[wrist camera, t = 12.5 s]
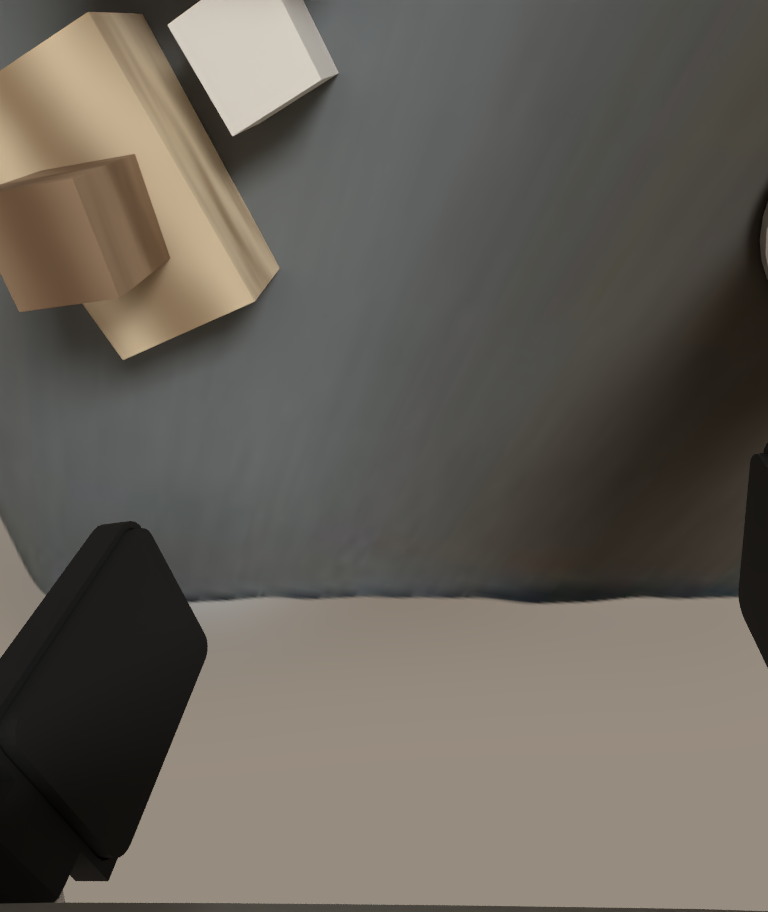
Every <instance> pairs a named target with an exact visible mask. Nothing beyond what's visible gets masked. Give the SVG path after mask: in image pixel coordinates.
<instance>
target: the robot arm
mask: <svg viewBox="0 0 768 912" xmlns="http://www.w3.org/2000/svg"><path fill="white" fill-rule="evenodd" d="M760 250H761V261H762V264H763V267H764V270H765V274H766V277H767V279H768V202H767V206H766V209H765V212H764V215H763V219H762V226H761V234H760ZM739 603H740V608H741V611H742V614H743V617H744V619H745V621H746V623H747V625H748V628H749V630H750V632H751V634H752V636H753V638H754V640H755V642H756V644H757V646H758V648H759V650H760V653H761V655H762V657H763V659H764V661H765V663H766V665H767V667H768V443H767V444H766V446H765V448H764V453H760V454H754V455H753V456H752V458H751V462H750V471H749V482H748V493H747V504H746V515H745V526H744V537H743V548H742V559H741V570H740V581H739ZM206 655H207V639H206V636H205V634H204V632H203V630H202V628H201V626H200V624H199V622H198V621H197V619H196V617H195V615H194V613H193V611H192V609H191V607H190V606H189V604H188V602H187V600H186V598H185V596H184V594H183V593H182V591H181V589H180V587H179V585H178V583H177V581H176V579H175V578H174V576H173V574H172V572H171V570H170V568H169V566H168V564H167V563H166V561H165V559H164V557H163V555H162V553H161V551H160V549H159V548H158V546H157V544H156V542H155V540H154V538H153V536H152V535H151V533H150V532H149V531H148V530H147V529H143V528H141V526H140V525H139V524H137V523H136V522H132V521H128V522H120V523H112V524H104V525H100V526H98V527H97V528H96V529H95V530H94V531H93V532H92V533H91V535H90V536H89V537H88V539H87V540H86V542H85V543H84V544H83V546H82V547H81V548H80V550H79V551H78V553H77V554H76V555H75V557H74V558H73V559H72V561H71V562H70V564H69V565H68V566H67V568H66V569H65V570H64V572H63V573H62V574H61V576H60V577H59V579H58V580H57V581H56V583H55V584H54V585H53V587H52V588H51V590H50V591H49V592H48V594H47V595H46V596H45V598H44V599H43V601H42V602H41V603H40V605H39V606H38V607H37V609H36V610H35V611H34V613H33V614H32V616H31V617H30V618H29V620H28V621H27V623H26V624H25V625H24V627H23V628H22V629H21V631H20V632H19V633H18V635H17V636H16V638H15V639H14V640H13V642H12V643H11V644H10V646H9V647H8V649H7V650H6V651H5V653H4V654H3V655H2V657H1V658H0V912H768V911H739V910H737V911H736V910H708V909H707V910H705V909H654V908H653V909H652V908H650V909H649V908H586V907H520V906H519V907H518V906H448V905H446V906H445V905H442V906H441V905H351V904H350V905H348V904H343V905H342V904H240V903H238V904H237V903H235V904H234V903H233V904H232V903H65V899H64V894H63V888H64V886H65V884H66V882H67V879H68V877H69V875H71V877H72V878H73V879H74V880H75V881H108V880H109V878H110V875H111V873H112V871H113V868H114V866H115V863H116V861H117V859H118V857H120V856H122V855H124V853H125V852H126V851H127V850H128V848H129V846H130V844H131V842H132V839H133V836H134V834H135V832H136V829H137V826H138V824H139V822H140V819H141V817H142V814H143V812H144V809H145V807H146V804H147V802H148V800H149V797H150V794H151V792H152V789H153V787H154V785H155V782H156V780H157V777H158V775H159V772H160V769H161V767H162V765H163V762H164V760H165V757H166V755H167V753H168V750H169V748H170V745H171V743H172V740H173V737H174V735H175V732H176V730H177V728H178V725H179V723H180V720H181V718H182V715H183V713H184V710H185V708H186V706H187V703H188V700H189V698H190V696H191V693H192V691H193V688H194V686H195V683H196V681H197V678H198V676H199V673H200V671H201V668H202V666H203V664H204V661H205V659H206Z"/></svg>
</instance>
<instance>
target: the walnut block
mask: <svg viewBox="0 0 768 912" xmlns="http://www.w3.org/2000/svg"><path fill="white" fill-rule="evenodd" d="M169 259H170V256H169V253H168V250H167V247H166V244H165V241H164V238H163V235H162V232H161V229H160V226H159V223H158V220H157V217H156V214H155V211H154V209H153V206H152V203H151V200H150V197H149V194H148V191H147V188H146V185H145V182H144V179H143V176H142V173H141V170H140V167H139V164H138V161H137V159H136V156H135V154H131V155H126V156H120V157H114V158H109V159H103V160H97V161H92V162H86V163H80V164H75V165H69V166H63V167H58V168H52V169H46V170H41V171H38V172H35V173H32V174H29V175H27V176H24V177H21V178H18V179H15V180H12V181H9V182H6V183H3V184H0V273H1V275H2V277H3V280H4V282H5V284H6V286H7V288H8V290H9V292H10V294H11V296H12V298H13V300H14V302H15V304H16V306H17V308H18V310H19V312H24V311H31V310H38V309H46V308H53V307H60V306H68V305H75V304H82V303H90V302H97V301H104V300H112V299H119V298H121V297H122V296H123V295H125V294H126V293H127V292H128V291H130V290H131V289H132V288H133V287H135V286H136V285H137V284H138V283H140V282H141V281H142V280H143V279H145V278H146V277H147V276H148V275H150V274H151V273H152V272H153V271H155V270H156V269H157V268H159V267H160V266H161V265H162V264H164V263H165V262H166V261H167V260H169Z"/></svg>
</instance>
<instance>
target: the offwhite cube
mask: <svg viewBox="0 0 768 912" xmlns="http://www.w3.org/2000/svg"><path fill="white" fill-rule="evenodd" d="M168 27H169V29H170V31H171V32H172V34H173V36H174V37H175V39H176V41H177V42H178V44H179V46H180V48H181V49H182V51H183V53H184V54H185V56H186V58H187V60H188V61H189V63H190V65H191V66H192V68H193V70H194V72H195V73H196V75H197V77H198V78H199V80H200V82H201V84H202V85H203V87H204V89H205V90H206V92H207V94H208V95H209V97H210V99H211V101H212V102H213V104H214V106H215V107H216V109H217V111H218V113H219V114H220V116H221V118H222V119H223V121H224V123H225V125H226V126H227V128H228V130H229V131H230V133H231V135H232V136H235V135H237V134H239V133H241V132H243V131H245V130H247V129H249V128H251V127H253V126H255V125H257V124H260V123H261V122H263V121H264V120H266V119H267V118H269V117H271V116H272V115H274V114H275V113H277V112H278V111H280V110H282V109H283V108H285V107H286V106H288V105H289V104H291V103H293V102H294V101H296V100H297V99H299V98H300V97H302V96H304V95H305V94H307V93H308V92H310V91H311V90H313V89H315V88H316V87H318V86H319V85H321V84H323V83H324V82H326V81H327V80H329V79H330V78H332V77H334V76H335V75H337V74H338V71H337V69H336V67H335V65H334V62H333V60H332V58H331V56H330V54H329V52H328V50H327V48H326V46H325V44H324V42H323V40H322V38H321V36H320V34H319V32H318V30H317V28H316V26H315V24H314V22H313V19H312V17H311V15H310V13H309V11H308V9H307V7H306V5H305V3H304V1H303V0H200V1H199V2H198V3H196V4H195V5H193V6H192V7H191V8H189V9H188V10H187V11H185V12H184V13H183V14H181V15H180V16H179V17H177V18H176V19H175V20H173V21H172V22H171V23H169V24H168Z"/></svg>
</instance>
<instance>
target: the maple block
mask: <svg viewBox="0 0 768 912" xmlns="http://www.w3.org/2000/svg"><path fill="white" fill-rule="evenodd" d="M131 154H135V156H136V159H137V161H138V164H139V167H140V170H141V173H142V176H143V179H144V182H145V185H146V188H147V191H148V194H149V197H150V200H151V203H152V206H153V209H154V211H155V214H156V217H157V220H158V223H159V226H160V229H161V232H162V235H163V238H164V241H165V244H166V247H167V250H168V253H169V256H170V259H169V260H167V261H166V262H165V263H164V264H162V265H161V266H160V267H159V268H157V269H156V270H155V271H153V272H152V273H151V274H150V275H148V276H147V277H146V278H145V279H143V280H142V281H141V282H140V283H138V284H137V285H136V286H135V287H133V288H132V289H131V290H130V291H128V292H127V293H126V294H125V295H123V296H122V297H121V298H119V299H112V300H104V301H97V302H90V303H82V304H83V305H84V307H85V308H86V309H87V311H88V312H89V314H90V315H91V316H92V318H93V319H94V321H95V322H96V323H97V325H98V326H99V328H100V329H101V330H102V332H103V333H104V334H105V336H106V337H107V339H108V340H109V341H110V343H111V344H112V346H113V347H114V348H115V350H116V351H117V353H118V354H119V355H120V357H121V358H122V360H125V359H127V358H129V357H131V356H134V355H136V354H138V353H140V352H142V351H145V350H147V349H149V348H151V347H154V346H156V345H158V344H160V343H163V342H165V341H167V340H169V339H172V338H174V337H176V336H178V335H181V334H183V333H185V332H187V331H190V330H192V329H194V328H196V327H199V326H201V325H203V324H205V323H208V322H210V321H212V320H214V319H217V318H219V317H221V316H223V315H226V314H228V313H230V312H232V311H235V310H237V309H239V308H241V307H244V306H246V305H248V304H250V303H253V302H255V301H256V299H257V298H258V297H259V295H260V294H261V293H262V291H263V290H264V289H265V287H266V286H267V285H268V283H269V282H270V281H271V279H272V278H273V277H274V275H275V274H276V273H277V271H278V270H279V269H280V268H279V266H278V264H277V262H276V260H275V259H274V257H273V255H272V253H271V251H270V249H269V247H268V246H267V244H266V242H265V240H264V238H263V236H262V234H261V233H260V231H259V229H258V227H257V225H256V223H255V221H254V220H253V218H252V216H251V214H250V212H249V210H248V209H247V207H246V205H245V203H244V201H243V199H242V197H241V196H240V194H239V192H238V190H237V188H236V186H235V184H234V183H233V181H232V179H231V177H230V175H229V173H228V172H227V170H226V168H225V166H224V164H223V162H222V160H221V159H220V157H219V155H218V153H217V151H216V149H215V147H214V146H213V144H212V142H211V140H210V138H209V136H208V135H207V133H206V131H205V129H204V127H203V125H202V123H201V122H200V120H199V118H198V116H197V114H196V112H195V110H194V109H193V107H192V105H191V103H190V101H189V99H188V98H187V96H186V94H185V92H184V90H183V88H182V86H181V85H180V83H179V81H178V79H177V77H176V75H175V73H174V72H173V70H172V68H171V66H170V64H169V62H168V61H167V59H166V57H165V55H164V53H163V51H162V49H161V48H160V46H159V44H158V42H157V40H156V38H155V36H154V35H153V33H152V31H151V29H150V27H149V25H148V24H147V22H146V20H145V18H144V16H143V14H136V13H109V12H87V13H85V14H84V15H83V16H81V17H80V18H78V19H77V20H75V21H74V22H72V23H71V24H69V25H68V26H66V27H65V28H63V29H62V30H60V31H59V32H57V33H56V34H54V35H53V36H51V37H50V38H48V39H47V40H45V41H44V42H42V43H41V44H39V45H38V46H36V47H35V48H33V49H32V50H30V51H29V52H27V53H26V54H24V55H23V56H22V57H20V58H19V59H17V60H16V61H14V62H13V63H11V64H10V65H8V66H7V67H5V68H4V69H2V70H1V71H0V184H3V183H6V182H9V181H12V180H15V179H18V178H21V177H24V176H27V175H29V174H32V173H35V172H38V171H41V170H46V169H52V168H58V167H63V166H69V165H75V164H80V163H86V162H92V161H97V160H103V159H109V158H114V157H120V156H126V155H131Z"/></svg>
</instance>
